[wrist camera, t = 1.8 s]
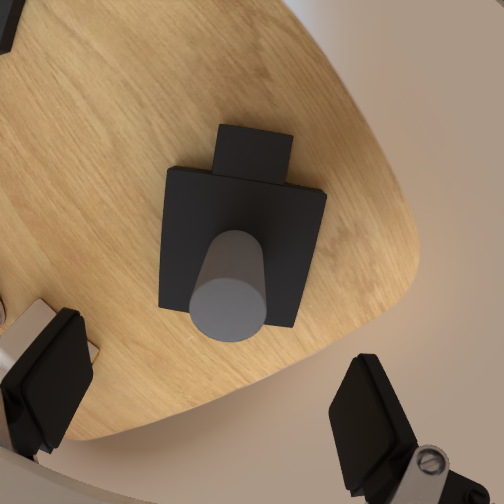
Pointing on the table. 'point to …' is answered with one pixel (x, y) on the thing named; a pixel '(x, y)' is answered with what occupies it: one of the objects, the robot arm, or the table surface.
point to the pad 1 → (9, 22)
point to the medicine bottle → (28, 335)
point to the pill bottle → (1, 314)
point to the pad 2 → (238, 237)
